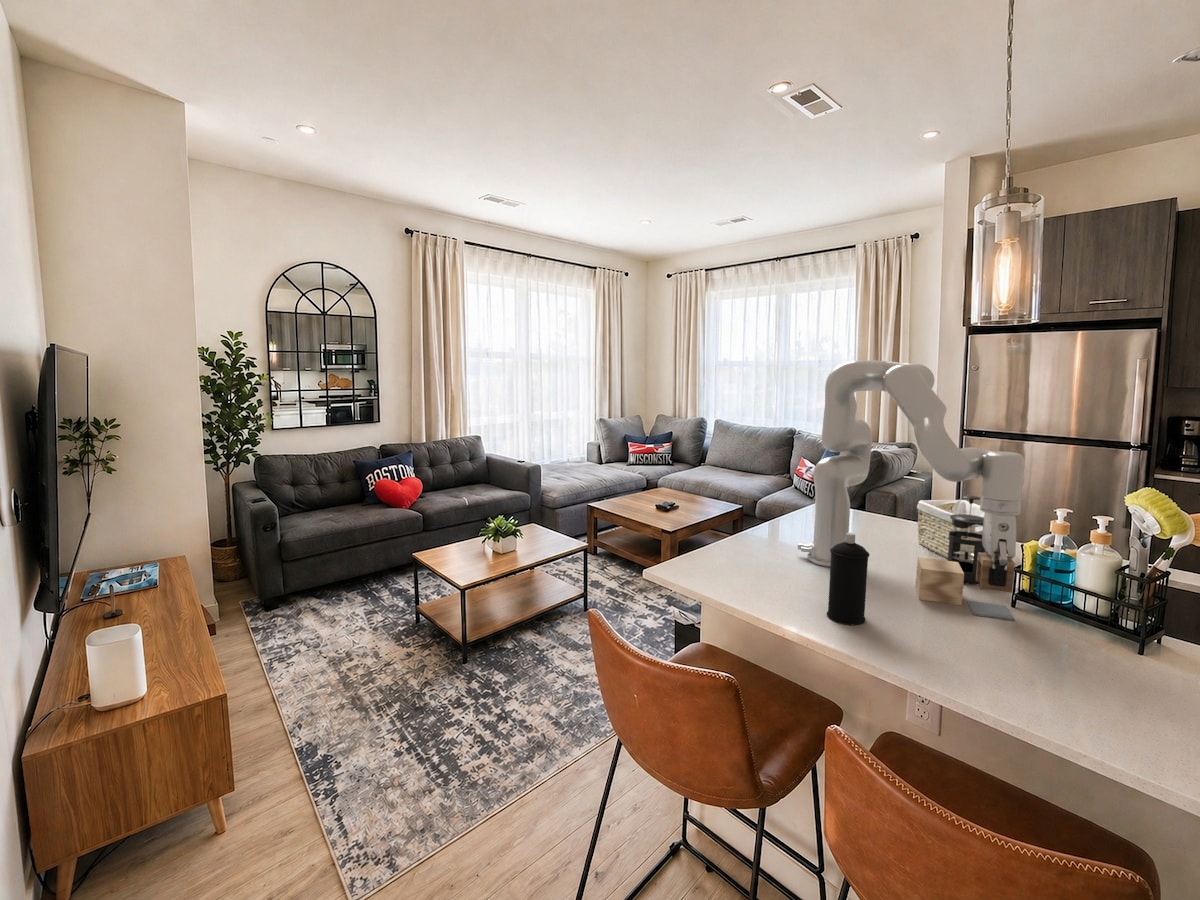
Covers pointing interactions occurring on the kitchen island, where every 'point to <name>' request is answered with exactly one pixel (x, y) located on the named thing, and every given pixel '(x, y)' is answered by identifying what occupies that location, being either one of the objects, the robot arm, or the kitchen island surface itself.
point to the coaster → (990, 610)
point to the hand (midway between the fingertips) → (993, 579)
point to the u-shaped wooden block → (983, 573)
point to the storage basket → (944, 523)
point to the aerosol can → (848, 582)
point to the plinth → (939, 581)
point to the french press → (966, 543)
